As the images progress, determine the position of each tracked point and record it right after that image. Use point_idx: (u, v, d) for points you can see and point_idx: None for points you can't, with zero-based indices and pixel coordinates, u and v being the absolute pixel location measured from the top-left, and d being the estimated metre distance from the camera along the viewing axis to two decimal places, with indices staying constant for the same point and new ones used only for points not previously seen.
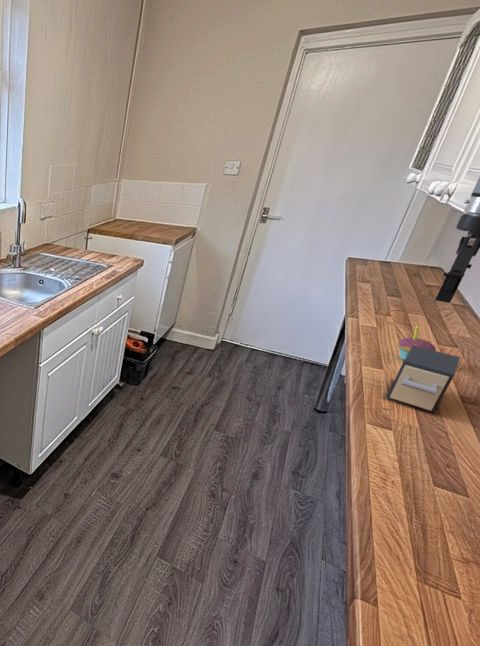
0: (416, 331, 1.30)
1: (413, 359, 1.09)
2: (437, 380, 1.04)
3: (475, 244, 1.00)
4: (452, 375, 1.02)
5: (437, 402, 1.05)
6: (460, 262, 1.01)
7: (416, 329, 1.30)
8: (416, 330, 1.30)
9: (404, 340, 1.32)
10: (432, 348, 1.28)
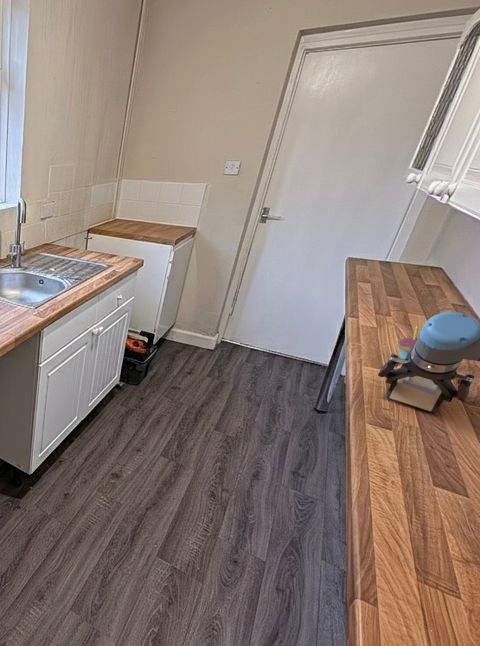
0: (416, 331, 1.30)
1: None
2: None
3: None
4: None
5: None
6: (467, 392, 0.95)
7: (416, 329, 1.30)
8: (416, 330, 1.30)
9: (404, 340, 1.32)
10: None
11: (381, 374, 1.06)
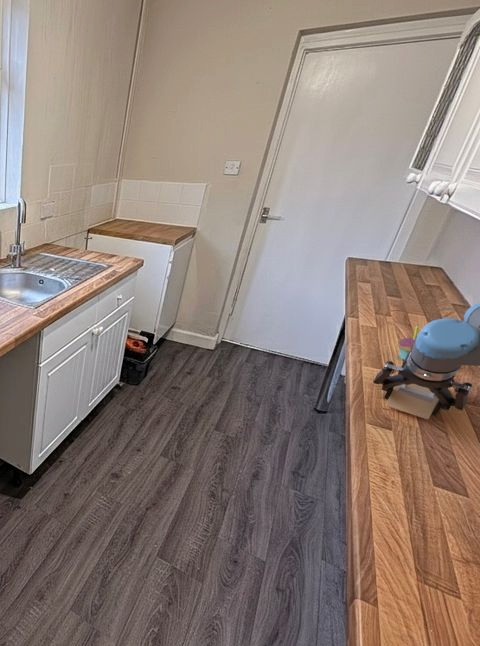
0: (416, 331, 1.30)
1: None
2: None
3: None
4: None
5: (437, 402, 1.05)
6: (465, 400, 0.92)
7: (416, 329, 1.30)
8: (416, 330, 1.30)
9: (404, 340, 1.32)
10: None
11: (376, 381, 1.03)
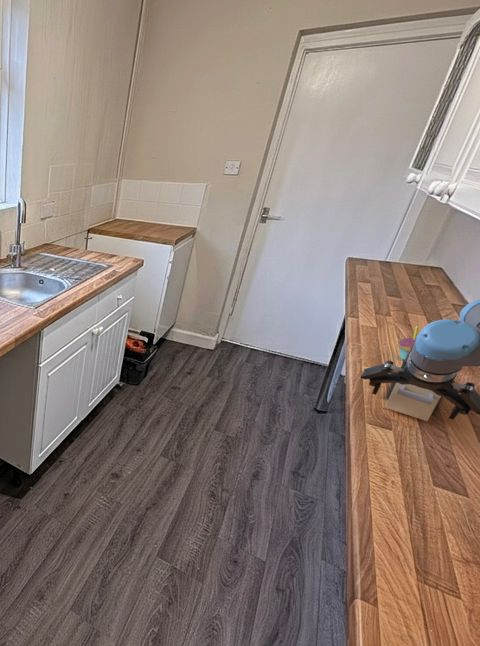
0: (416, 331, 1.30)
1: None
2: None
3: (473, 388, 0.87)
4: None
5: None
6: (479, 403, 0.88)
7: (416, 329, 1.30)
8: (416, 330, 1.30)
9: (404, 340, 1.32)
10: None
11: (365, 376, 1.02)
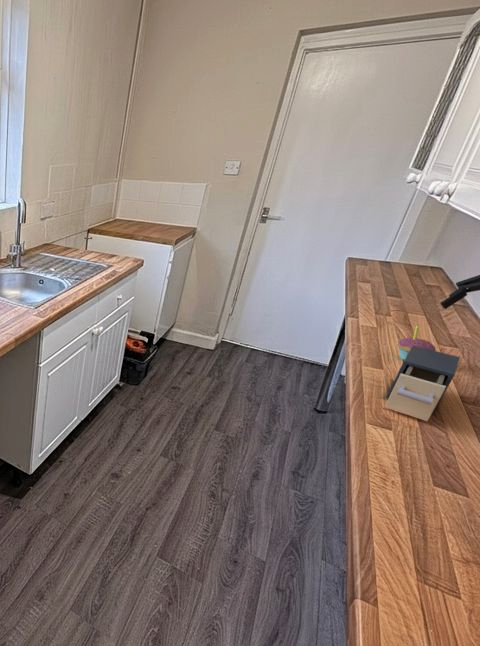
0: (416, 331, 1.30)
1: (413, 359, 1.09)
2: (433, 390, 1.00)
3: None
4: (452, 375, 1.02)
5: None
6: None
7: (416, 329, 1.30)
8: (416, 330, 1.30)
9: (404, 340, 1.32)
10: (432, 348, 1.28)
11: None
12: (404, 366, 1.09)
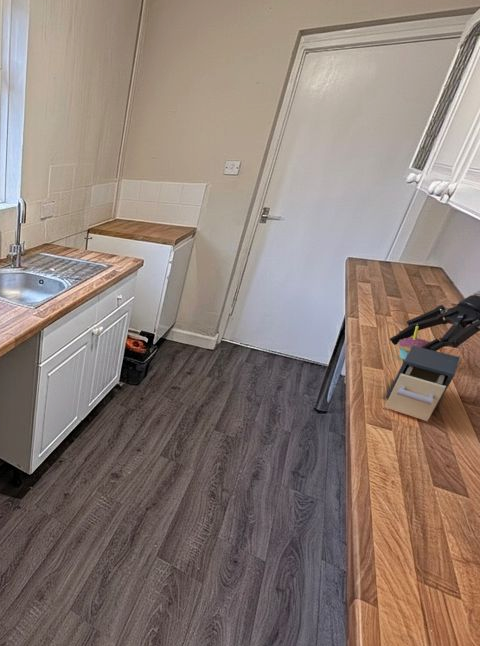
0: (416, 331, 1.30)
1: (413, 359, 1.09)
2: (433, 390, 1.00)
3: None
4: (452, 375, 1.02)
5: None
6: None
7: (416, 329, 1.30)
8: (416, 330, 1.30)
9: (404, 340, 1.32)
10: None
11: None
12: (404, 366, 1.09)
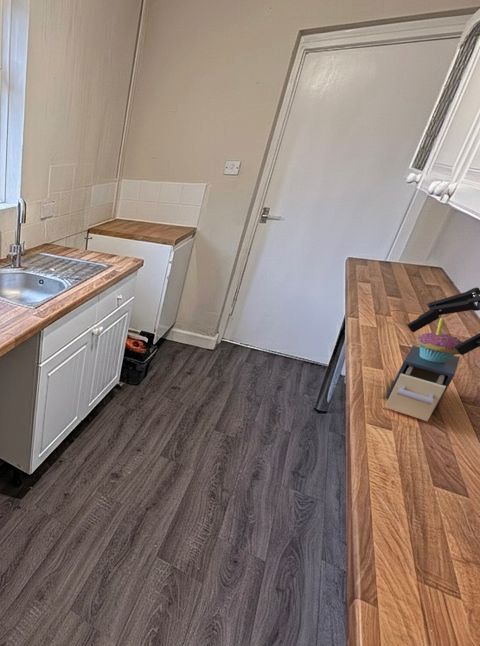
0: (440, 324, 1.06)
1: (413, 359, 1.09)
2: (433, 390, 1.00)
3: None
4: (452, 375, 1.02)
5: None
6: None
7: (440, 322, 1.06)
8: (441, 323, 1.06)
9: (425, 335, 1.08)
10: None
11: None
12: (404, 366, 1.09)
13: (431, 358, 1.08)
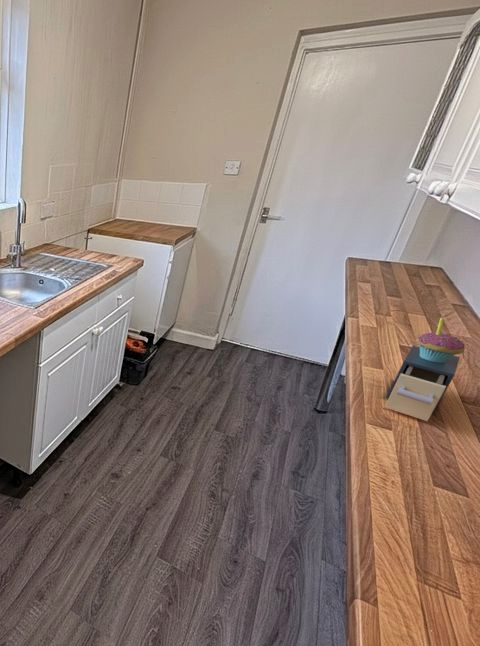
0: (440, 324, 1.06)
1: (413, 359, 1.09)
2: (433, 390, 1.00)
3: None
4: (452, 375, 1.02)
5: None
6: None
7: (440, 322, 1.06)
8: (441, 323, 1.06)
9: (425, 335, 1.08)
10: (460, 345, 1.04)
11: None
12: (404, 366, 1.09)
13: (431, 358, 1.08)
